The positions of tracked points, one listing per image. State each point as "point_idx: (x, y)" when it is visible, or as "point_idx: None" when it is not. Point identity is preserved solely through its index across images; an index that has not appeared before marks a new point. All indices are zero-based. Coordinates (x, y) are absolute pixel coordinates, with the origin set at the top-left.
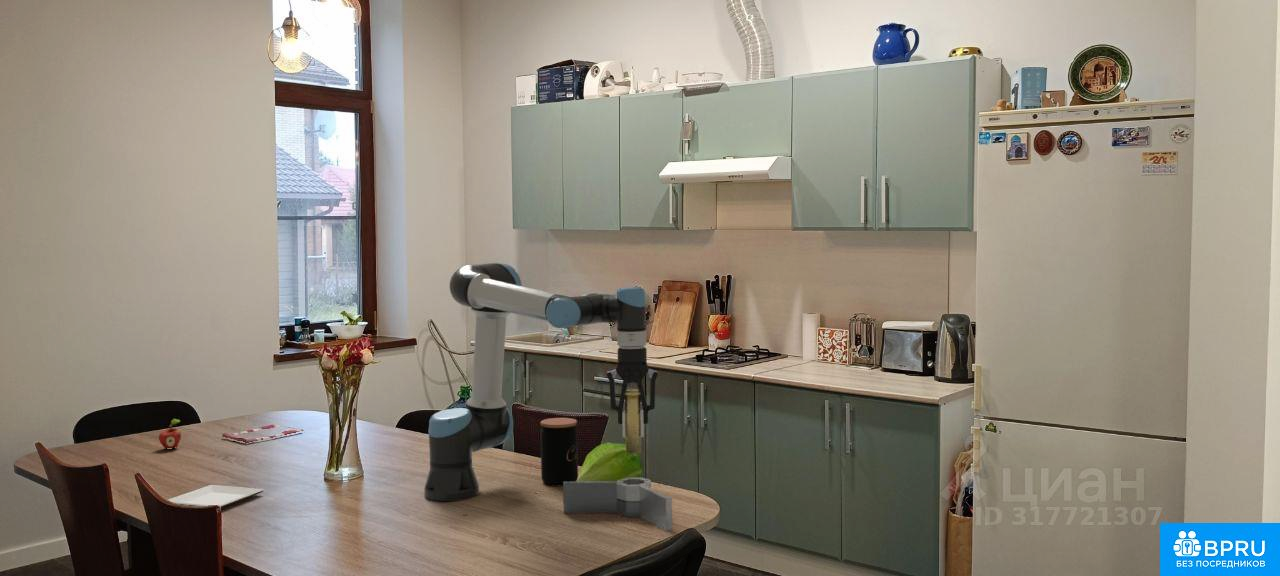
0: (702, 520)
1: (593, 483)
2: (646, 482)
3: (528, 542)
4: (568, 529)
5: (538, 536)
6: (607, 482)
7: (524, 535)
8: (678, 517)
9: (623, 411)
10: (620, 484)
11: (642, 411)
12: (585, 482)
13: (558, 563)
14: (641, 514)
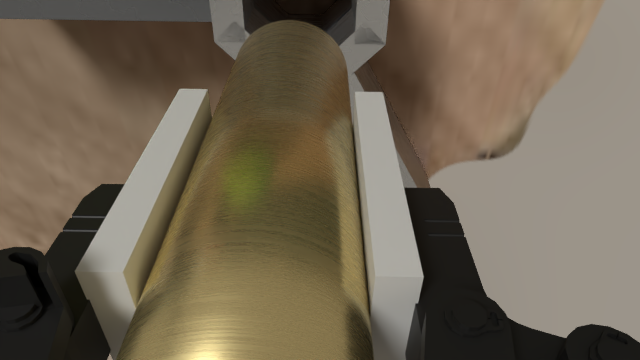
0: (547, 84)
1: (91, 18)
2: (366, 23)
3: (49, 244)
4: (113, 158)
5: (52, 208)
6: (162, 16)
7: (9, 200)
8: (472, 47)
9: (109, 319)
10: (236, 55)
11: (398, 332)
12: (45, 12)
13: None
14: None
